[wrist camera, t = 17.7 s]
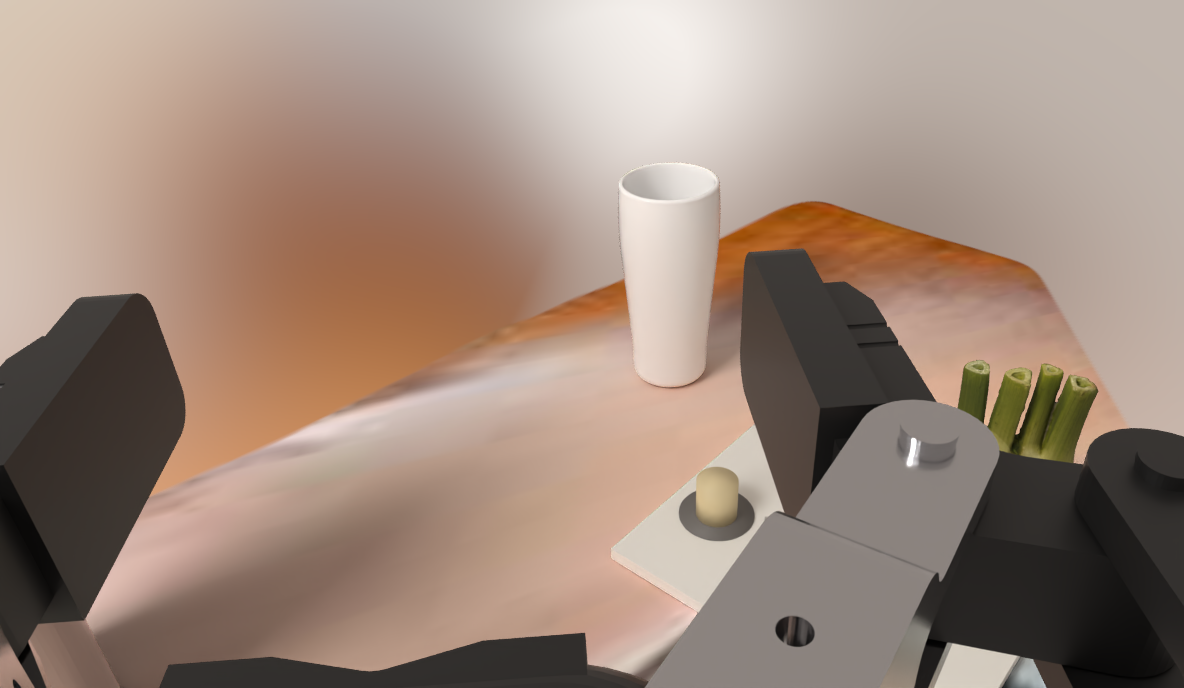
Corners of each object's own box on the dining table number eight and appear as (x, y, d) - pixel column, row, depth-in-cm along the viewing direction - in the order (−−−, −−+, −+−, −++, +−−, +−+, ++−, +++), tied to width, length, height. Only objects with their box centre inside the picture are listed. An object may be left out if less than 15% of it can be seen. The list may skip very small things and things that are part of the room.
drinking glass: (647, 337, 71) (644, 155, 63) (729, 357, 69) (736, 169, 61) (608, 383, 67) (598, 192, 58) (694, 406, 64) (697, 209, 56)
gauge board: (611, 558, 52) (608, 514, 50) (797, 395, 64) (800, 355, 62) (963, 776, 40) (977, 729, 38) (1110, 525, 52) (1126, 480, 50)
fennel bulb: (918, 542, 51) (953, 363, 44) (966, 500, 53) (1006, 325, 47) (1018, 602, 47) (1072, 415, 40) (1065, 553, 49) (1123, 371, 43)
